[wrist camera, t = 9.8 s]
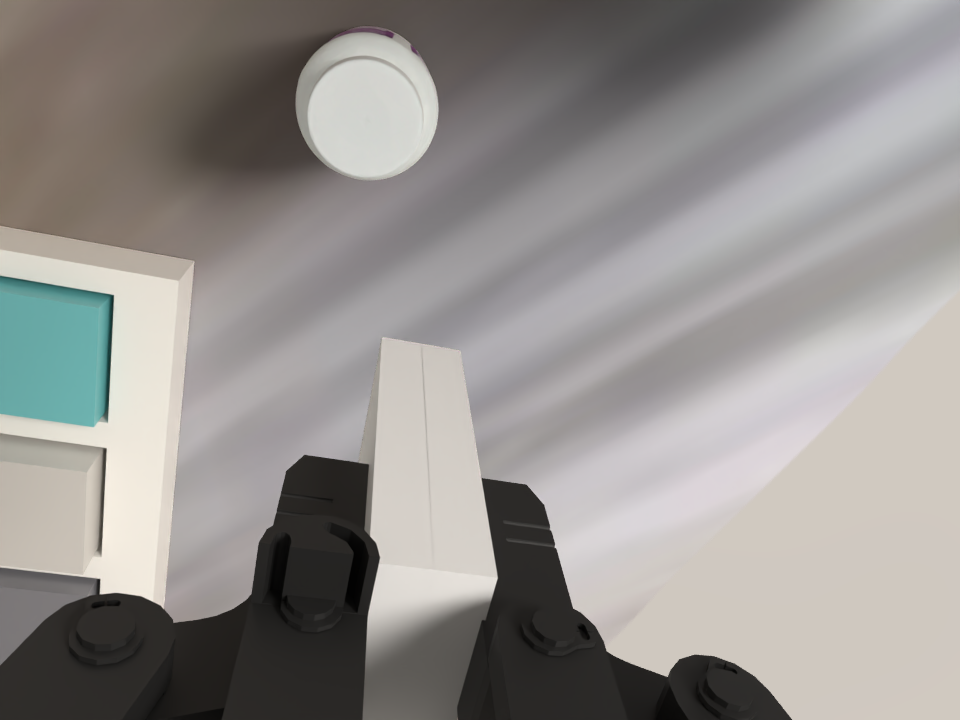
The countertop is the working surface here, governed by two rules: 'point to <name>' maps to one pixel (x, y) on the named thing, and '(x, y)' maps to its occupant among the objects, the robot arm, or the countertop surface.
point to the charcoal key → (35, 602)
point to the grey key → (50, 503)
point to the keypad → (122, 395)
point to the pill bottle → (367, 104)
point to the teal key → (54, 352)
